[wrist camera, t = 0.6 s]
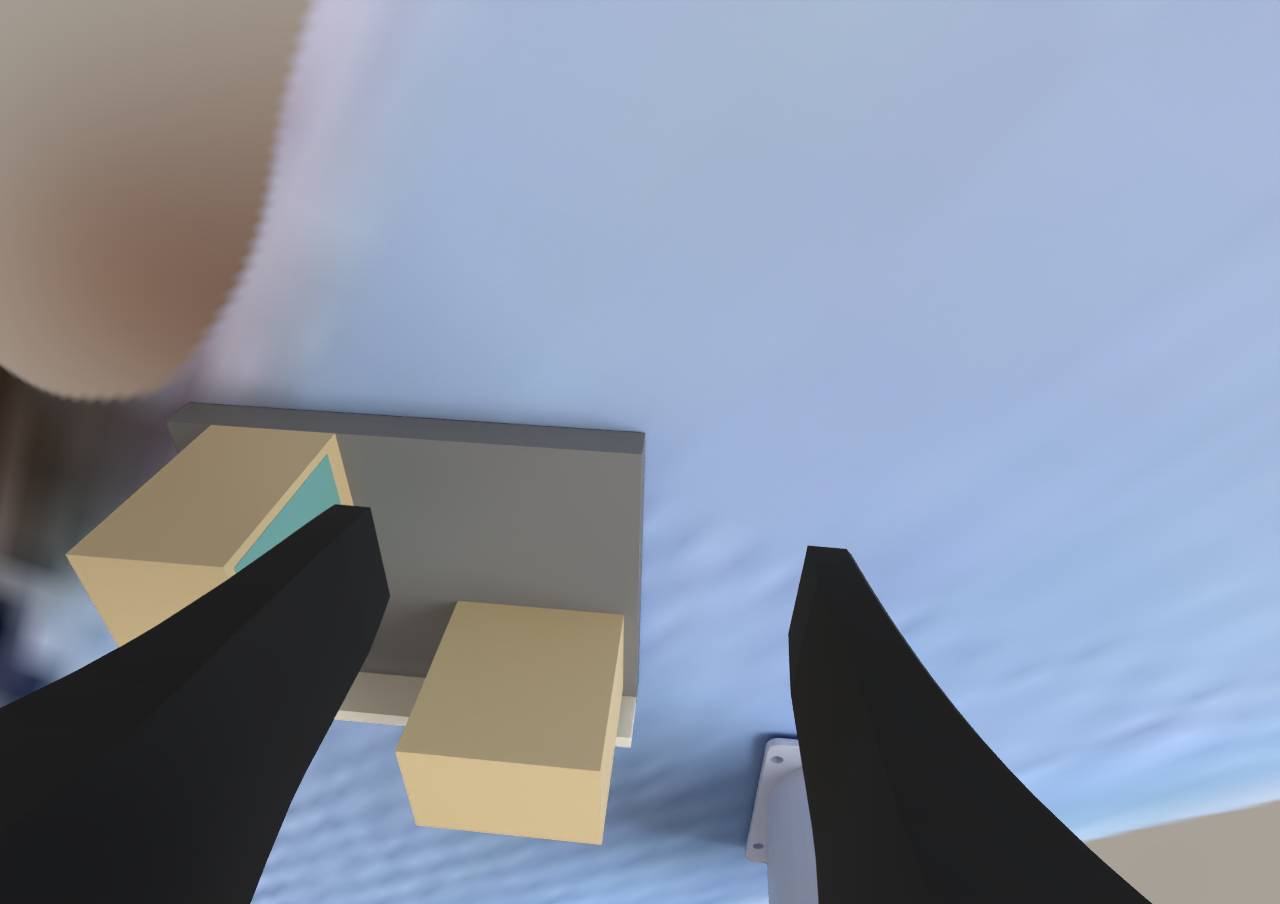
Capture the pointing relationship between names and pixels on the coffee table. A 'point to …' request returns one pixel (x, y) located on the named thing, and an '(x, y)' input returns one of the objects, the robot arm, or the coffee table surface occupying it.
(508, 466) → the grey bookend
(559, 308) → the coffee table surface
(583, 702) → the carton faced
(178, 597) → the carton
